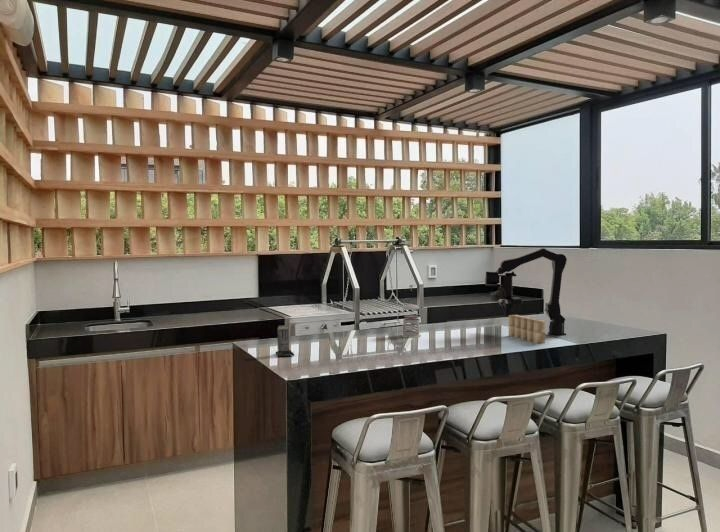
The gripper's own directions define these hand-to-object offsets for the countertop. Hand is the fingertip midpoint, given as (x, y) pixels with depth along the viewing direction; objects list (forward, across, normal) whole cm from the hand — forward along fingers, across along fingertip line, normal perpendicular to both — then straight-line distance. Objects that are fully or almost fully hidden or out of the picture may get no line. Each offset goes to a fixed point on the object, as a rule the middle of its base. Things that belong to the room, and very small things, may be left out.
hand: (506, 316), depth 275 cm
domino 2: (+8, +12, 0) cm, 14 cm away
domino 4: (+8, +21, 0) cm, 23 cm away
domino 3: (+8, +16, 0) cm, 19 cm away
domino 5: (+8, +26, 0) cm, 27 cm away
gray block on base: (+8, +13, -114) cm, 115 cm away
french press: (+8, -10, -48) cm, 50 cm away
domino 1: (+8, +7, 0) cm, 11 cm away
